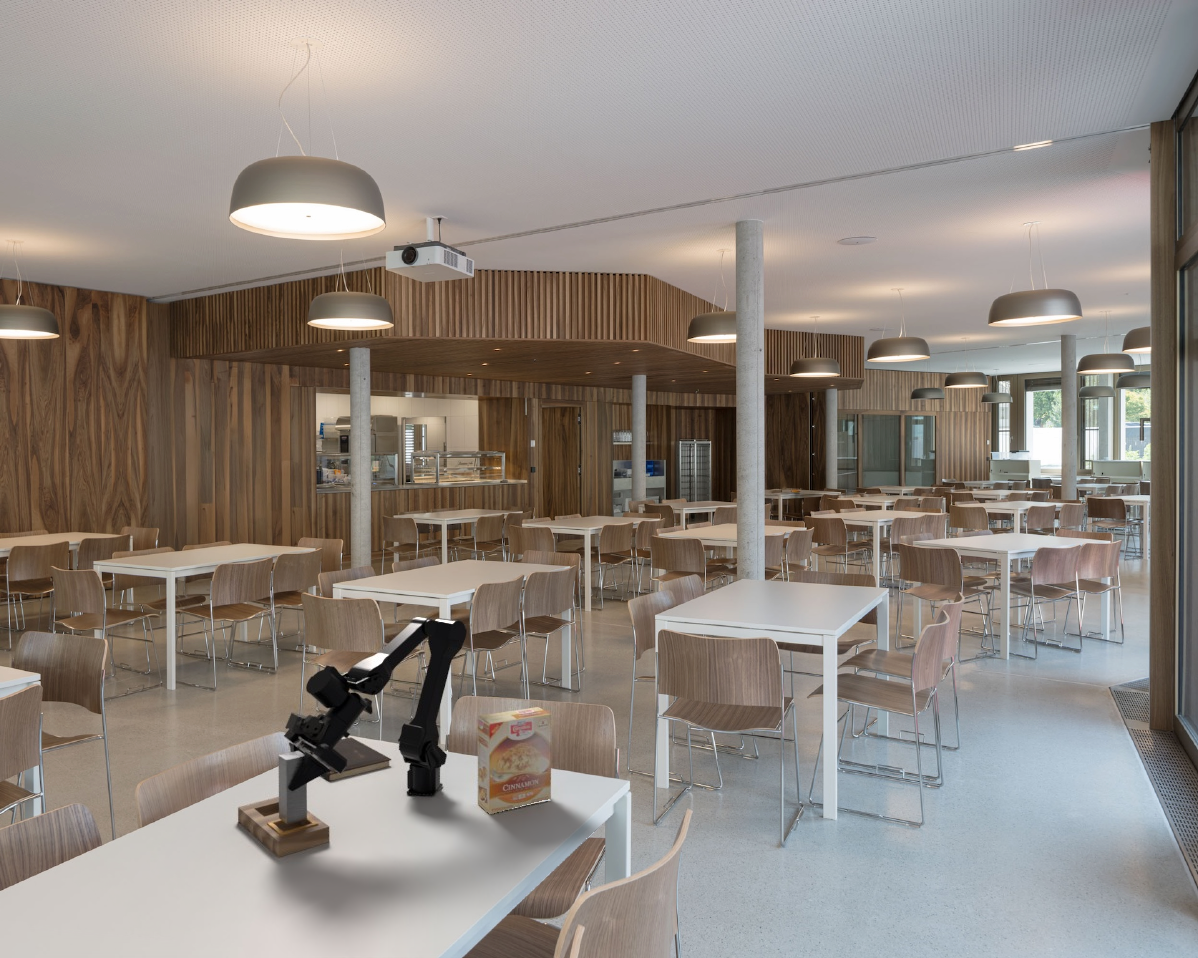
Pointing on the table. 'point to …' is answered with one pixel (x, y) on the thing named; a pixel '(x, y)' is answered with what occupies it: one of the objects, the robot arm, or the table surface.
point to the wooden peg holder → (282, 828)
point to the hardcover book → (357, 759)
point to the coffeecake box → (514, 759)
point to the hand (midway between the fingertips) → (285, 786)
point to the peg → (290, 801)
